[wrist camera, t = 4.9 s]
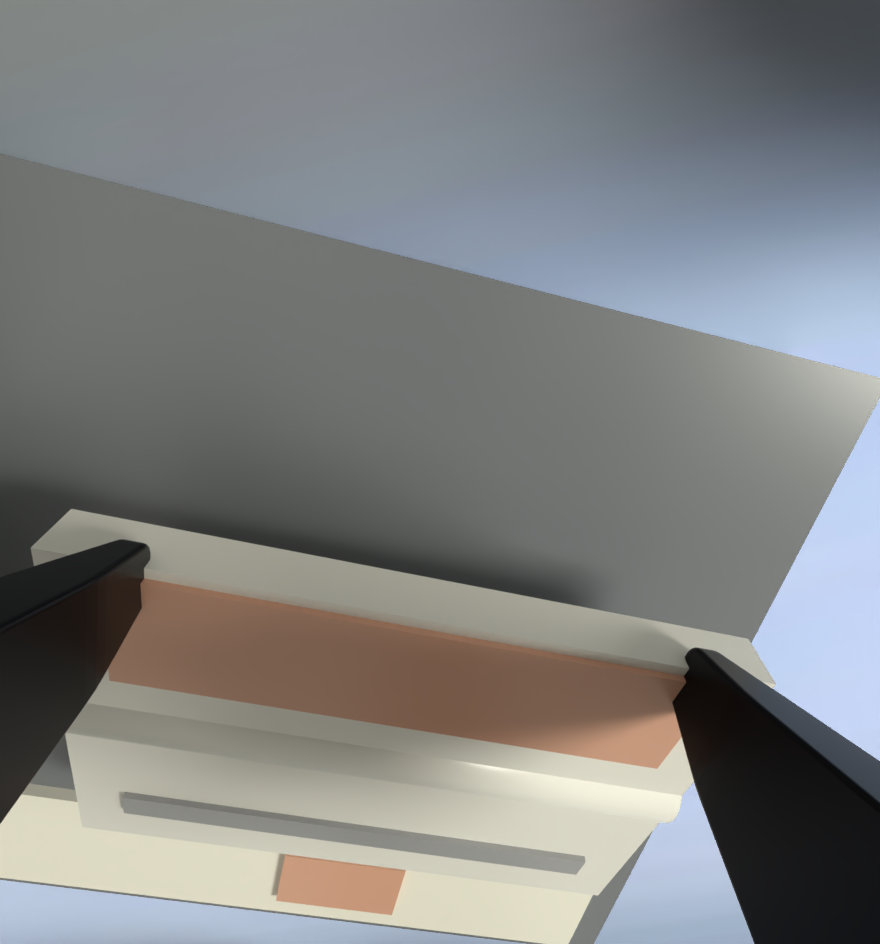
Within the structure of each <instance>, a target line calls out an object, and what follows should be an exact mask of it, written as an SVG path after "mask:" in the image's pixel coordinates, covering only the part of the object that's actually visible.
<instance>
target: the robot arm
mask: <svg viewBox="0 0 880 944" xmlns="http://www.w3.org/2000/svg"><path fill="white" fill-rule="evenodd" d="M150 557H151V552H150V547H149V546H148V545H147V544H145V543H141V542H136V541H131V540H125V539H119V540H116V541H112V542H109V543H106V544H103V545H100V546H96V547H93V548H90V549H87V550H84V551H81V552H77V553H74V554H71V555H68V556H65V557H61V558H58V559H55V560H52V561H49V562H45V563H42V564H39V565H36V566H33V567H29V568H26V569H23V570H20V571H17V572H14V573H10V574H7V575H4V576H1V577H0V824H1V822H2V821H3V820H4V818H5V817H6V815H7V814H8V813H9V811H10V810H11V808H12V807H13V806H14V804H15V803H16V801H17V800H18V799H19V797H20V796H21V794H22V793H23V792H24V790H25V789H26V787H27V786H28V785H29V783H30V782H31V780H32V779H33V778H34V776H35V775H36V774H37V772H38V771H39V769H40V768H41V767H42V765H43V764H44V762H45V761H46V760H47V758H48V757H49V755H50V754H51V753H52V751H53V750H54V748H55V747H56V746H57V744H58V743H59V741H60V740H61V739H62V737H63V736H64V734H65V733H66V732H67V730H68V729H69V727H70V726H71V725H72V723H73V722H74V720H75V719H76V718H77V716H78V715H79V713H80V712H81V711H82V709H83V708H84V706H85V705H86V704H87V702H88V701H89V699H90V698H91V696H92V695H93V693H94V692H95V690H96V689H97V687H98V685H99V684H100V682H101V680H102V679H103V677H104V675H105V673H106V672H107V670H108V668H109V666H110V664H111V663H112V661H113V659H114V657H115V655H116V654H117V652H118V650H119V648H120V647H121V645H122V643H123V641H124V639H125V638H126V636H127V634H128V632H129V630H130V629H131V627H132V625H133V623H134V622H135V620H136V618H137V616H138V614H139V613H140V611H141V609H142V602H141V582H142V581H143V580H144V568H145V566H146V565H147V563H148V562H149V561H150ZM685 660H686V662H687V665H688V667H689V669H688V671H687V672H686V674H685V675H684V678H685V680H686V683H685V685H684V686H683V688H682V689H681V690H680V692H679V693H678V695H677V696H676V698H675V699H674V700H673V702H672V704H673V708H674V711H675V715H676V719H677V722H678V726H679V729H680V733H681V737H682V740H683V744H684V748H685V751H686V755H687V759H688V762H689V766H690V770H691V773H692V776H693V780H694V783H695V786H696V789H697V792H698V795H699V798H700V800H701V803H702V806H703V808H704V811H705V814H706V816H707V819H708V822H709V824H710V827H711V830H712V832H713V835H714V838H715V840H716V843H717V846H718V848H719V851H720V854H721V856H722V859H723V862H724V864H725V867H726V869H727V872H728V875H729V877H730V880H731V883H732V885H733V888H734V891H735V893H736V896H737V899H738V901H739V904H740V907H741V909H742V912H743V915H744V917H745V920H746V923H747V925H748V928H749V930H750V933H751V936H752V938H753V941H754V944H880V761H879V760H877V759H876V758H874V757H873V756H871V755H870V754H868V753H867V752H865V751H864V750H862V749H861V748H859V747H858V746H856V745H855V744H853V743H852V742H850V741H849V740H848V739H846V738H845V737H843V736H842V735H840V734H839V733H837V732H836V731H834V730H833V729H831V728H830V727H828V726H827V725H825V724H824V723H822V722H821V721H819V720H818V719H816V718H815V717H814V716H812V715H811V714H809V713H808V712H806V711H805V710H803V709H802V708H800V707H799V706H797V705H796V704H794V703H793V702H791V701H790V700H788V699H787V698H785V697H784V696H782V695H781V694H779V693H778V692H777V691H775V690H774V689H772V688H771V687H769V686H768V685H766V684H765V683H763V682H762V681H760V680H759V679H757V678H756V677H754V676H753V675H751V674H750V673H748V672H747V671H745V670H744V669H743V668H741V667H740V666H738V665H737V664H735V663H734V662H732V661H731V660H729V659H728V658H726V657H725V656H723V655H722V654H720V653H719V652H717V651H714V650H709V649H703V648H697V647H695V648H692V649H690V650H689V651H688V652H687V654H686V656H685Z"/></svg>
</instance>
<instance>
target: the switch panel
mask: <svg viewBox="0 0 880 944" xmlns="http://www.w3.org/2000/svg"><path fill="white" fill-rule="evenodd" d="M879 398H880V378H878V377H875V376H871V375H867V374H863V373H859V372H855V371H851V370H847V369H843V368H839V367H835V366H831V365H827V364H824V363H820V362H816V361H812V360H808V359H804V358H800V357H796V356H792V355H788V354H784V353H780V352H776V351H773V350H769V349H765V348H761V347H757V346H753V345H749V344H745V343H741V342H737V341H733V340H729V339H725V338H721V337H718V336H714V335H710V334H706V333H702V332H698V331H694V330H690V329H686V328H682V327H678V326H674V325H670V324H667V323H663V322H659V321H655V320H651V319H647V318H643V317H639V316H635V315H631V314H627V313H623V312H619V311H616V310H612V309H608V308H604V307H600V306H596V305H592V304H588V303H584V302H580V301H576V300H572V299H568V298H565V297H561V296H557V295H553V294H549V293H545V292H541V291H537V290H533V289H529V288H525V287H521V286H517V285H513V284H510V283H506V282H502V281H498V280H494V279H490V278H486V277H482V276H478V275H474V274H470V273H466V272H462V271H459V270H455V269H451V268H447V267H443V266H439V265H435V264H431V263H427V262H423V261H419V260H415V259H411V258H408V257H404V256H400V255H396V254H392V253H388V252H384V251H380V250H376V249H372V248H368V247H364V246H360V245H357V244H353V243H349V242H345V241H341V240H337V239H333V238H329V237H325V236H321V235H317V234H313V233H309V232H305V231H302V230H298V229H294V228H290V227H286V226H282V225H278V224H274V223H270V222H266V221H262V220H258V219H254V218H251V217H247V216H243V215H239V214H235V213H231V212H227V211H223V210H219V209H215V208H211V207H207V206H203V205H200V204H196V203H192V202H188V201H184V200H180V199H176V198H172V197H168V196H164V195H160V194H156V193H152V192H149V191H145V190H141V189H137V188H133V187H129V186H125V185H121V184H117V183H113V182H109V181H105V180H101V179H97V178H94V177H90V176H86V175H82V174H78V173H74V172H70V171H66V170H62V169H58V168H54V167H50V166H46V165H43V164H39V163H35V162H31V161H27V160H23V159H19V158H15V157H11V156H7V155H3V154H0V577H1V576H4V575H7V574H10V573H14V572H17V571H20V570H23V569H26V568H29V567H33V566H34V563H33V558H32V552H31V547H32V546H33V545H34V544H35V543H36V542H37V541H38V540H39V539H40V538H41V537H42V536H43V535H44V534H46V533H47V532H48V531H49V530H50V529H51V528H52V527H53V526H54V525H55V524H56V523H57V522H58V521H59V520H60V519H61V518H62V517H63V516H64V515H65V514H66V513H67V512H69V511H70V510H71V509H75V510H80V511H86V512H91V513H96V514H101V515H106V516H112V517H117V518H122V519H127V520H132V521H138V522H143V523H148V524H153V525H158V526H164V527H169V528H174V529H179V530H184V531H190V532H195V533H200V534H205V535H211V536H216V537H221V538H226V539H231V540H237V541H242V542H247V543H252V544H257V545H263V546H268V547H273V548H278V549H283V550H289V551H294V552H299V553H304V554H310V555H315V556H320V557H325V558H330V559H336V560H341V561H346V562H351V563H356V564H362V565H367V566H372V567H377V568H382V569H388V570H393V571H398V572H403V573H408V574H414V575H419V576H424V577H429V578H435V579H440V580H445V581H450V582H455V583H461V584H466V585H471V586H476V587H481V588H487V589H492V590H497V591H502V592H507V593H513V594H518V595H523V596H528V597H533V598H539V599H544V600H549V601H554V602H560V603H565V604H570V605H575V606H580V607H586V608H591V609H596V610H601V611H606V612H612V613H617V614H622V615H627V616H632V617H638V618H643V619H648V620H653V621H659V622H664V623H669V624H674V625H679V626H685V627H690V628H695V629H700V630H705V631H711V632H716V633H721V634H726V635H731V636H737V637H742V638H747V639H749V641H750V642H752V641H753V639H754V637H755V635H756V633H757V631H758V629H759V627H760V625H761V623H762V621H763V620H764V618H765V616H766V614H767V612H768V610H769V608H770V606H771V604H772V602H773V600H774V599H775V597H776V595H777V593H778V591H779V589H780V587H781V585H782V583H783V581H784V579H785V578H786V576H787V574H788V572H789V570H790V568H791V566H792V564H793V562H794V560H795V559H796V557H797V555H798V553H799V551H800V549H801V547H802V545H803V543H804V541H805V539H806V538H807V536H808V534H809V532H810V530H811V528H812V526H813V524H814V522H815V520H816V518H817V517H818V515H819V513H820V511H821V509H822V507H823V505H824V503H825V501H826V499H827V497H828V496H829V494H830V492H831V490H832V488H833V486H834V484H835V482H836V480H837V478H838V476H839V475H840V473H841V471H842V469H843V467H844V465H845V463H846V461H847V459H848V457H849V455H850V454H851V452H852V450H853V448H854V446H855V444H856V442H857V440H858V438H859V436H860V435H861V433H862V431H863V429H864V427H865V425H866V423H867V421H868V419H869V417H870V415H871V414H872V412H873V410H874V408H875V406H876V404H877V402H878V400H879ZM651 833H652V832H651ZM651 833H650V834H649V836H648V837H647V838H646V839H645V840H644V842H643V843H642V844H641V845H640V846H639V847H638V849H637V850H636V851H635V852H634V853H633V855H632V856H631V857H630V858H629V859H628V861H627V862H626V863H625V864H624V865H623V866H622V868H621V869H620V870H619V871H618V872H617V874H616V875H615V876H614V877H613V878H612V879H611V881H610V882H609V883H608V884H607V885H606V887H605V888H604V889H603V890H602V891H601V893H600V894H599V895H598V896H597V895H589V894H582V893H574V892H567V891H559V890H552V889H544V888H537V887H529V886H522V885H514V884H506V883H499V882H491V881H484V880H476V879H469V878H461V877H454V876H446V875H439V874H431V873H424V872H416V871H409V870H401V869H394V868H386V867H379V866H371V865H363V864H356V863H348V862H341V861H333V860H326V859H318V858H311V857H303V856H296V855H288V854H281V853H273V852H266V851H258V850H251V849H243V848H236V847H228V846H220V845H213V844H205V843H198V842H190V841H183V840H175V839H168V838H160V837H153V836H145V835H138V834H130V833H123V832H115V831H108V830H100V829H93V828H85V827H82V824H81V818H80V813H79V807H78V802H77V797H76V791H75V786H74V780H73V775H72V769H71V764H70V759H69V753H68V748H67V742H66V737H65V734H64V736H63V737H62V739H61V740H60V741H59V743H58V744H57V746H56V747H55V748H54V750H53V751H52V753H51V754H50V755H49V757H48V758H47V760H46V761H45V762H44V764H43V765H42V767H41V768H40V769H39V771H38V772H37V774H36V775H35V776H34V778H33V779H32V780H31V782H30V783H29V785H28V786H27V787H26V789H25V790H24V792H23V793H22V794H21V796H20V797H19V799H18V800H17V801H16V803H15V804H14V806H13V807H12V808H11V810H10V811H9V813H8V814H7V815H6V817H5V818H4V820H3V821H2V822H1V824H0V880H7V881H16V882H24V883H32V884H40V885H49V886H57V887H65V888H73V889H82V890H90V891H98V892H106V893H115V894H123V895H131V896H139V897H148V898H156V899H164V900H172V901H181V902H189V903H197V904H205V905H214V906H222V907H230V908H238V909H247V910H255V911H263V912H271V913H280V914H288V915H296V916H304V917H313V918H321V919H329V920H337V921H346V922H354V923H362V924H370V925H379V926H387V927H395V928H403V929H412V930H420V931H428V932H436V933H445V934H453V935H461V936H469V937H478V938H486V939H494V940H502V941H511V942H519V943H527V944H594V942H595V940H596V938H597V936H598V934H599V932H600V930H601V929H602V927H603V925H604V923H605V921H606V919H607V917H608V915H609V913H610V911H611V909H612V908H613V906H614V904H615V902H616V900H617V898H618V896H619V894H620V892H621V890H622V889H623V887H624V885H625V883H626V881H627V879H628V877H629V875H630V873H631V871H632V869H633V868H634V866H635V864H636V862H637V860H638V858H639V856H640V854H641V852H642V850H643V848H644V847H645V845H646V843H647V841H648V839H649V837H650V835H651Z"/></svg>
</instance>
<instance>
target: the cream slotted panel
mask: <svg viewBox="0 0 880 944" xmlns="http://www.w3.org/2000/svg"><path fill="white" fill-rule="evenodd" d="M119 539H125V540H131V541H136V542H141V543H145V544H147V545H148V546H149V547H150V552H151V557H150V561H149V562H148V563H147V565H146V566H145V568H144V580H143V581H142V582H141V602H142V609H141V611H140V613H139V614H138V616H137V618H136V620H135V622H134V623H133V625H132V627H131V629H130V630H129V632H128V634H127V636H126V638H125V639H124V641H123V643H122V645H121V647H120V648H119V650H118V652H117V654H116V655H115V657H114V659H113V661H112V663H111V664H110V666H109V668H108V670H107V672H106V673H105V675H104V677H103V679H102V680H101V682H100V684H99V685H98V687H97V689H96V690H95V692H94V693H93V695H92V696H91V698H90V699H89V701H88V702H87V704H86V705H85V706H84V708H83V709H82V711H81V712H80V713H79V715H78V716H77V718H76V719H75V720H74V722H73V723H72V725H71V726H70V727H69V729H68V730H67V732H66V733H65V737H66V742H67V748H68V753H69V759H70V764H71V769H72V775H73V780H74V786H75V791H76V797H77V802H78V807H79V813H80V818H81V824H82V827H85V828H93V829H100V830H108V831H115V832H123V833H130V834H138V835H145V836H153V837H160V838H168V839H175V840H183V841H190V842H198V843H205V844H213V845H220V846H228V847H236V848H243V849H251V850H258V851H266V852H273V853H281V854H288V855H296V856H303V857H311V858H318V859H326V860H333V861H341V862H348V863H356V864H363V865H371V866H379V867H386V868H394V869H401V870H409V871H416V872H424V873H431V874H439V875H446V876H454V877H461V878H469V879H476V880H484V881H491V882H499V883H506V884H514V885H522V886H529V887H537V888H544V889H552V890H559V891H567V892H574V893H582V894H589V895H597V896H598V895H599V894H600V893H601V891H602V890H603V889H604V888H605V887H606V885H607V884H608V883H609V882H610V881H611V879H612V878H613V877H614V876H615V875H616V874H617V872H618V871H619V870H620V869H621V868H622V866H623V865H624V864H625V863H626V862H627V861H628V859H629V858H630V857H631V856H632V855H633V853H634V852H635V851H636V850H637V849H638V847H639V846H640V845H641V844H642V843H643V842H644V840H645V839H646V838H647V837H648V836H649V834H650V833H651V832H652V831H653V830H654V828H655V827H656V826H657V825H658V824H659V823H660V822H662V823H670V822H672V821H673V820H674V819H675V818H676V816H677V814H678V812H679V810H680V806H681V800H682V795H683V794H684V793H685V792H686V791H687V789H688V788H689V787H690V786H691V785H692V783H693V782H694V780H693V776H692V773H691V770H690V766H689V762H688V759H687V755H686V751H685V748H684V744H683V740H682V737H681V733H680V729H679V726H678V722H677V719H676V715H675V711H674V708H673V704H672V702H673V700H674V699H675V698H676V696H677V695H678V693H679V692H680V690H681V689H682V688H683V686H684V685H685V683H686V680H685V678H684V675H685V674H686V672H687V671H688V669H689V667H688V665H687V662H686V660H685V656H686V654H687V652H688V651H689V650H690V649H692V648H695V647H697V648H703V649H709V650H714V651H717V652H719V653H720V654H722V655H723V656H725V657H726V658H728V659H729V660H731V661H732V662H734V663H735V664H737V665H738V666H740V667H741V668H743V669H744V670H745V671H747V672H748V673H750V674H751V675H753V676H754V677H756V678H757V679H759V680H760V681H762V682H763V683H765V684H766V685H768V686H769V687H771V688H773V687H774V686H775V685H776V684H775V682H774V680H773V679H772V677H771V675H770V674H769V672H768V670H767V669H766V667H765V665H764V664H763V662H762V661H761V659H760V657H759V656H758V654H757V652H756V651H755V649H754V647H753V646H752V644H751V642H750V641H749V639H747V638H742V637H737V636H731V635H726V634H721V633H716V632H711V631H705V630H700V629H695V628H690V627H685V626H679V625H674V624H669V623H664V622H659V621H653V620H648V619H643V618H638V617H632V616H627V615H622V614H617V613H612V612H606V611H601V610H596V609H591V608H586V607H580V606H575V605H570V604H565V603H560V602H554V601H549V600H544V599H539V598H533V597H528V596H523V595H518V594H513V593H507V592H502V591H497V590H492V589H487V588H481V587H476V586H471V585H466V584H461V583H455V582H450V581H445V580H440V579H435V578H429V577H424V576H419V575H414V574H408V573H403V572H398V571H393V570H388V569H382V568H377V567H372V566H367V565H362V564H356V563H351V562H346V561H341V560H336V559H330V558H325V557H320V556H315V555H310V554H304V553H299V552H294V551H289V550H283V549H278V548H273V547H268V546H263V545H257V544H252V543H247V542H242V541H237V540H231V539H226V538H221V537H216V536H211V535H205V534H200V533H195V532H190V531H184V530H179V529H174V528H169V527H164V526H158V525H153V524H148V523H143V522H138V521H132V520H127V519H122V518H117V517H112V516H106V515H101V514H96V513H91V512H86V511H80V510H75V509H71V510H70V511H69V512H67V513H66V514H65V515H64V516H63V517H62V518H61V519H60V520H59V521H58V522H57V523H56V524H55V525H54V526H53V527H52V528H51V529H50V530H49V531H48V532H47V533H46V534H44V535H43V536H42V537H41V538H40V539H39V540H38V541H37V542H36V543H35V544H34V545H33V546H32V547H31V552H32V558H33V563H34V566H36V565H39V564H42V563H45V562H49V561H52V560H55V559H58V558H61V557H65V556H68V555H71V554H74V553H77V552H81V551H84V550H87V549H90V548H93V547H96V546H100V545H103V544H106V543H109V542H112V541H116V540H119Z"/></svg>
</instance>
